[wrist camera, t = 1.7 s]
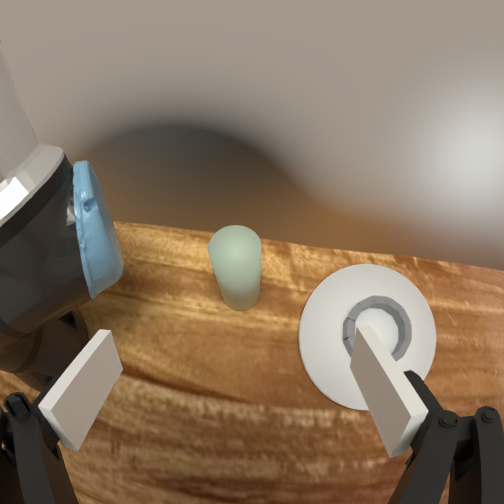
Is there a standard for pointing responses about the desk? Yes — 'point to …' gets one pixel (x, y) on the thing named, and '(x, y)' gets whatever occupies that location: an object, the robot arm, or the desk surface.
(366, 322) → the carrier plate
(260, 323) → the desk surface
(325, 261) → the desk surface
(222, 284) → the sage green cylinder
